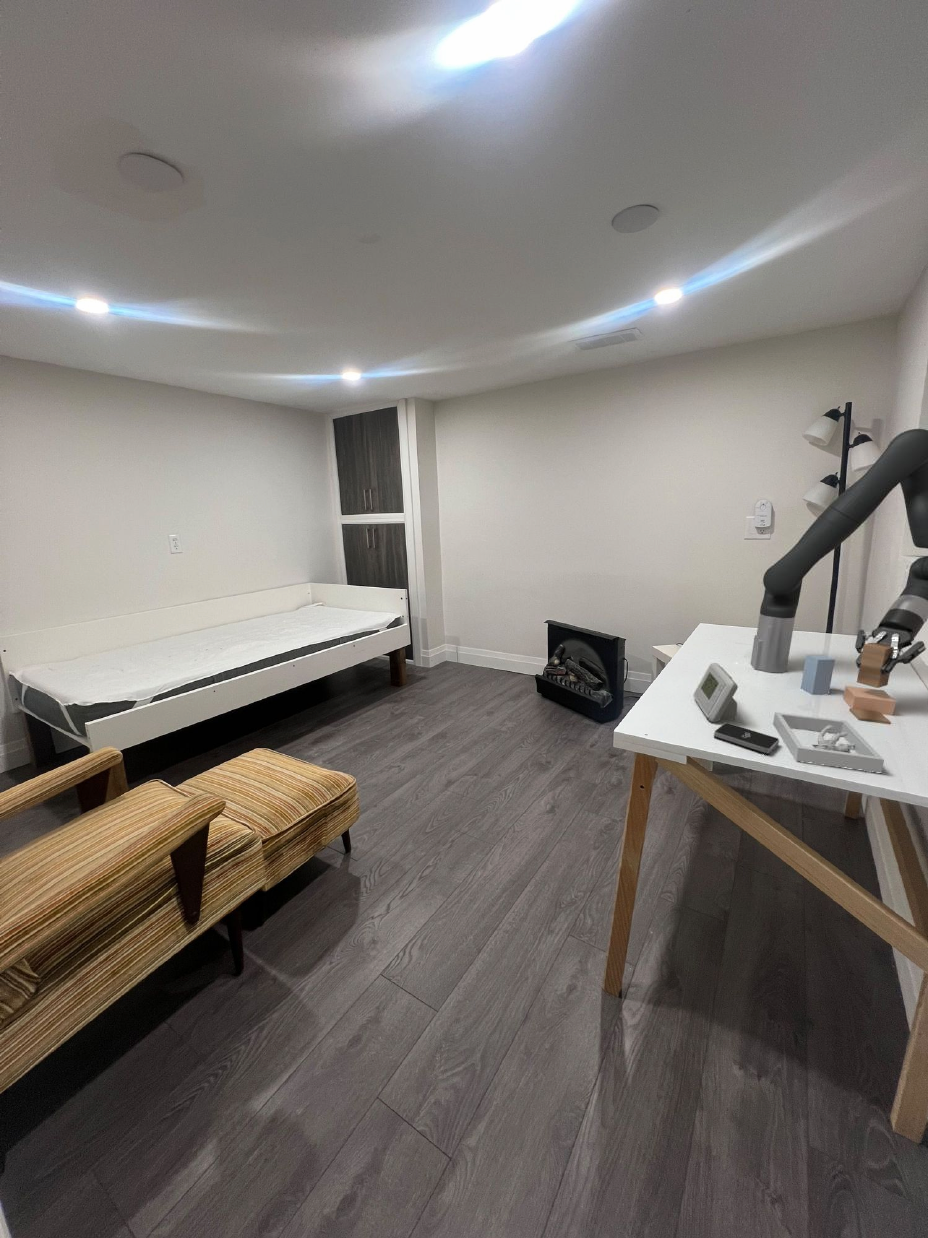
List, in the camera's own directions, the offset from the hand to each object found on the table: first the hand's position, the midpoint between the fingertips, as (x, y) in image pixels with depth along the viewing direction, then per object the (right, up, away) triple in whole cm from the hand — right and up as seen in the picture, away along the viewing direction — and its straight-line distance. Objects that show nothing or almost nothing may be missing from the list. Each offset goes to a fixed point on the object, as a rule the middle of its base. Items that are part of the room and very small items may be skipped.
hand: (870, 669), depth 120 cm
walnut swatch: (-3, -11, -3) cm, 12 cm away
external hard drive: (-40, -15, -14) cm, 45 cm away
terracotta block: (+2, -10, +3) cm, 11 cm away
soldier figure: (-24, -16, -19) cm, 35 cm away
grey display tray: (-25, -15, -17) cm, 33 cm away
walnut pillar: (+2, -4, +2) cm, 5 cm away
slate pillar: (-4, -8, +14) cm, 16 cm away
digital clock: (-39, -11, +1) cm, 40 cm away
